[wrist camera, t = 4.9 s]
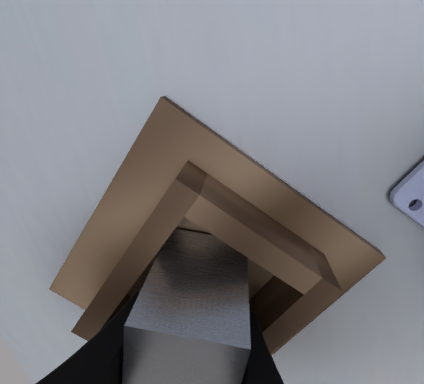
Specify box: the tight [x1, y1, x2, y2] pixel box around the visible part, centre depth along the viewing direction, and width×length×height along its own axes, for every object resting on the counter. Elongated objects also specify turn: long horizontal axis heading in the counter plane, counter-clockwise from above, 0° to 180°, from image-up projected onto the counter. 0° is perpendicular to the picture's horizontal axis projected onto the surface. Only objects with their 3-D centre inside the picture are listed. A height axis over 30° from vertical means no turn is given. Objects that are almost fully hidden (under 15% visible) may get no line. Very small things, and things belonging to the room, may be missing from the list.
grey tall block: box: [122, 229, 251, 384], centre depth 11 cm, size 4×5×6 cm
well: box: [49, 96, 386, 356], centre depth 13 cm, size 12×12×3 cm
